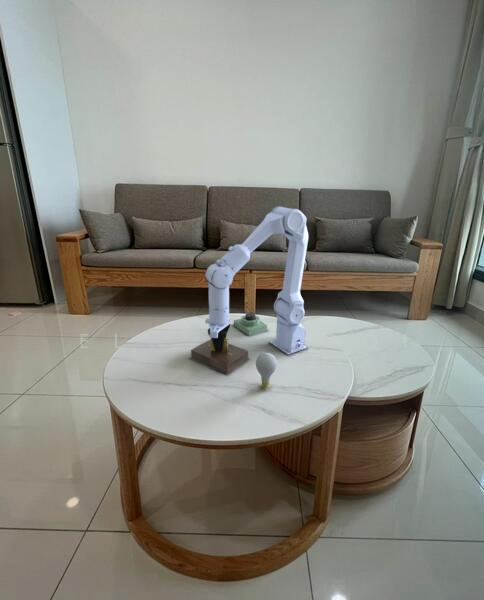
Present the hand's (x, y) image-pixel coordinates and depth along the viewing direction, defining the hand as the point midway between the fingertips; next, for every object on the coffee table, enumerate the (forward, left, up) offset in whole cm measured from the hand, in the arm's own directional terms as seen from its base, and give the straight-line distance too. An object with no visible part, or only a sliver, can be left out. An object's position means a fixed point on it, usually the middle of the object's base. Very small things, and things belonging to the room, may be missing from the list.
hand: (219, 348), depth 96 cm
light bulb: (-19, -3, -4) cm, 20 cm away
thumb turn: (0, 0, 0) cm, 0 cm away
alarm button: (+13, -20, 0) cm, 24 cm away
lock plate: (0, 0, -3) cm, 3 cm away
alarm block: (+13, -20, -3) cm, 24 cm away
